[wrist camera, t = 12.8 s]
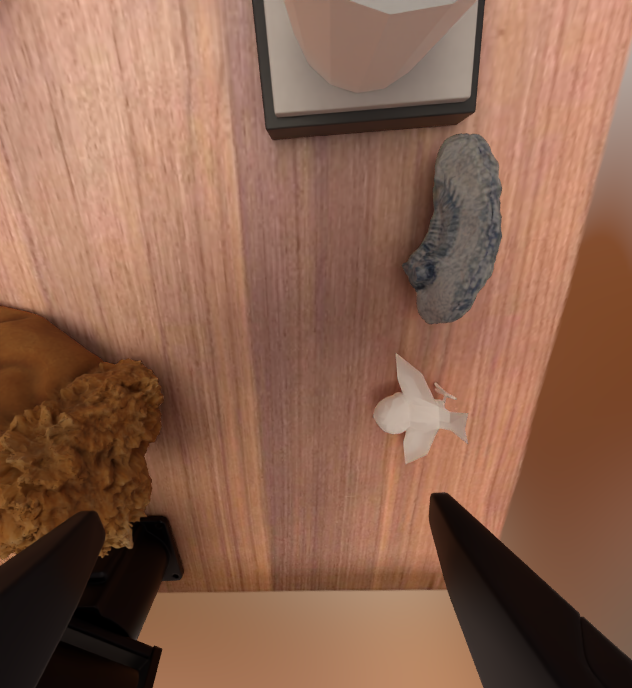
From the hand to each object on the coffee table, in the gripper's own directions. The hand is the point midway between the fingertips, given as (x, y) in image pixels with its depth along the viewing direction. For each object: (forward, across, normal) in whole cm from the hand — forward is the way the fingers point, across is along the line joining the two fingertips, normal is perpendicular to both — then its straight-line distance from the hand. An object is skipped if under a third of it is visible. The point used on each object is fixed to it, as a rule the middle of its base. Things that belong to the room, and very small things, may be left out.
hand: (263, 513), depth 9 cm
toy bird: (+12, -7, +4) cm, 15 cm away
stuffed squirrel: (+12, +14, +2) cm, 18 cm away
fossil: (+12, -8, -6) cm, 16 cm away
